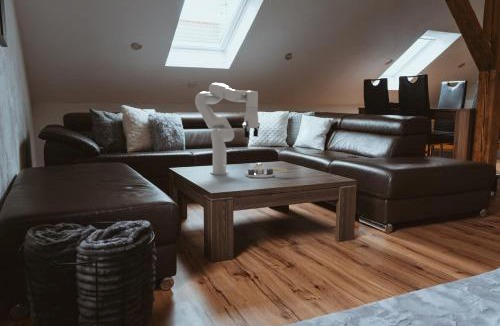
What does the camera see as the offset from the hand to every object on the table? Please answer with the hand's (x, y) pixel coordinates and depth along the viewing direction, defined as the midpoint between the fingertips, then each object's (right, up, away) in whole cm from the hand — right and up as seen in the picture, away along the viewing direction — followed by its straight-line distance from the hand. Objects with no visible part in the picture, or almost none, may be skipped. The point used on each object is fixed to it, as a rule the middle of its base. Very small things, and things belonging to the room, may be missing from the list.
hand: (251, 136), depth 261 cm
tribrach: (+6, -25, +16) cm, 31 cm away
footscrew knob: (+17, -24, +12) cm, 32 cm away
